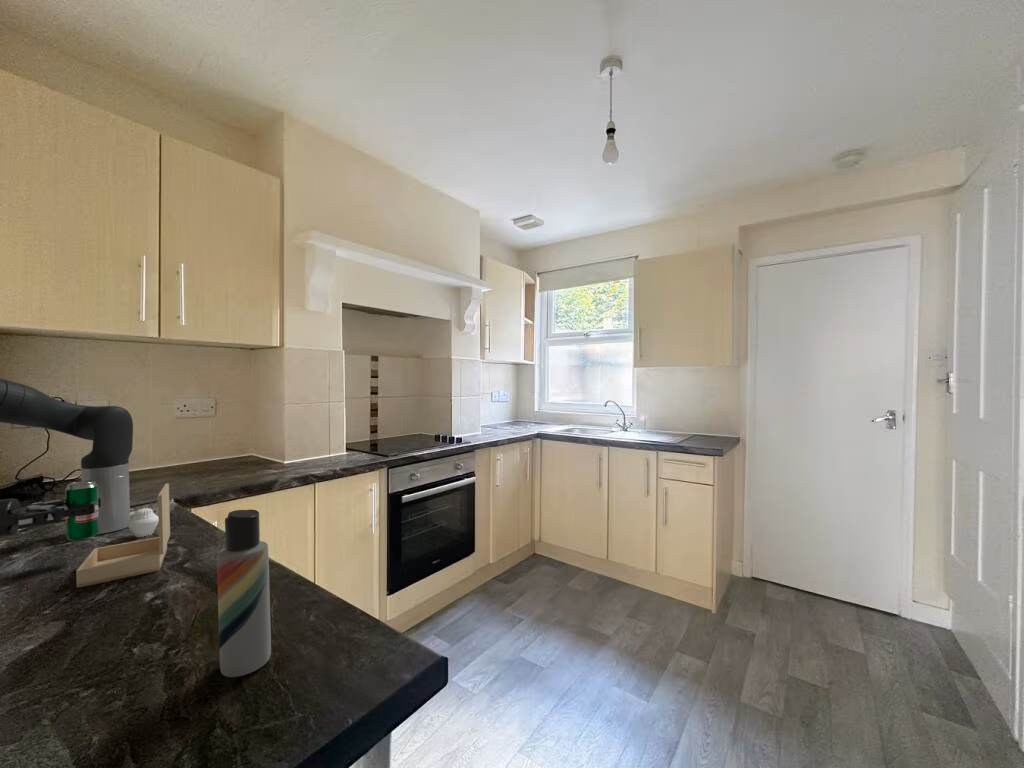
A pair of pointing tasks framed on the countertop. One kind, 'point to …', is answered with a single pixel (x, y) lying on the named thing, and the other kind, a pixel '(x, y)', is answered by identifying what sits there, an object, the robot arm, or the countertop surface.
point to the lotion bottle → (243, 596)
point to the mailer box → (129, 553)
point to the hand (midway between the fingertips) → (97, 505)
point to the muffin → (143, 522)
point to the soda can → (82, 524)
